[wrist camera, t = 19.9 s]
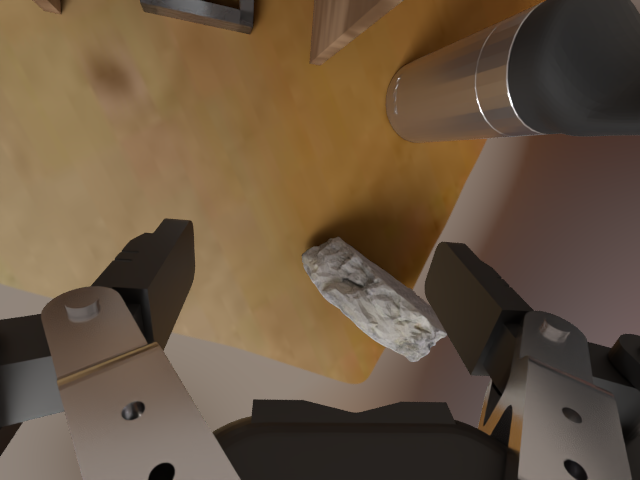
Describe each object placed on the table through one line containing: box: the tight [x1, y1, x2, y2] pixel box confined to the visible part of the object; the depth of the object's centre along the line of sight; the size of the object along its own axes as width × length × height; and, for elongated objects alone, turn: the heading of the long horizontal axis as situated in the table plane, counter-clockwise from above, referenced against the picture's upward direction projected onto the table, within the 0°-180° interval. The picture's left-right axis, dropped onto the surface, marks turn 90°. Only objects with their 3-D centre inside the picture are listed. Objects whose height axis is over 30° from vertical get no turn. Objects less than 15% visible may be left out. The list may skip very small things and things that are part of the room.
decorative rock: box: [302, 237, 447, 362], centre depth 37 cm, size 16×7×15 cm, turn 50°
